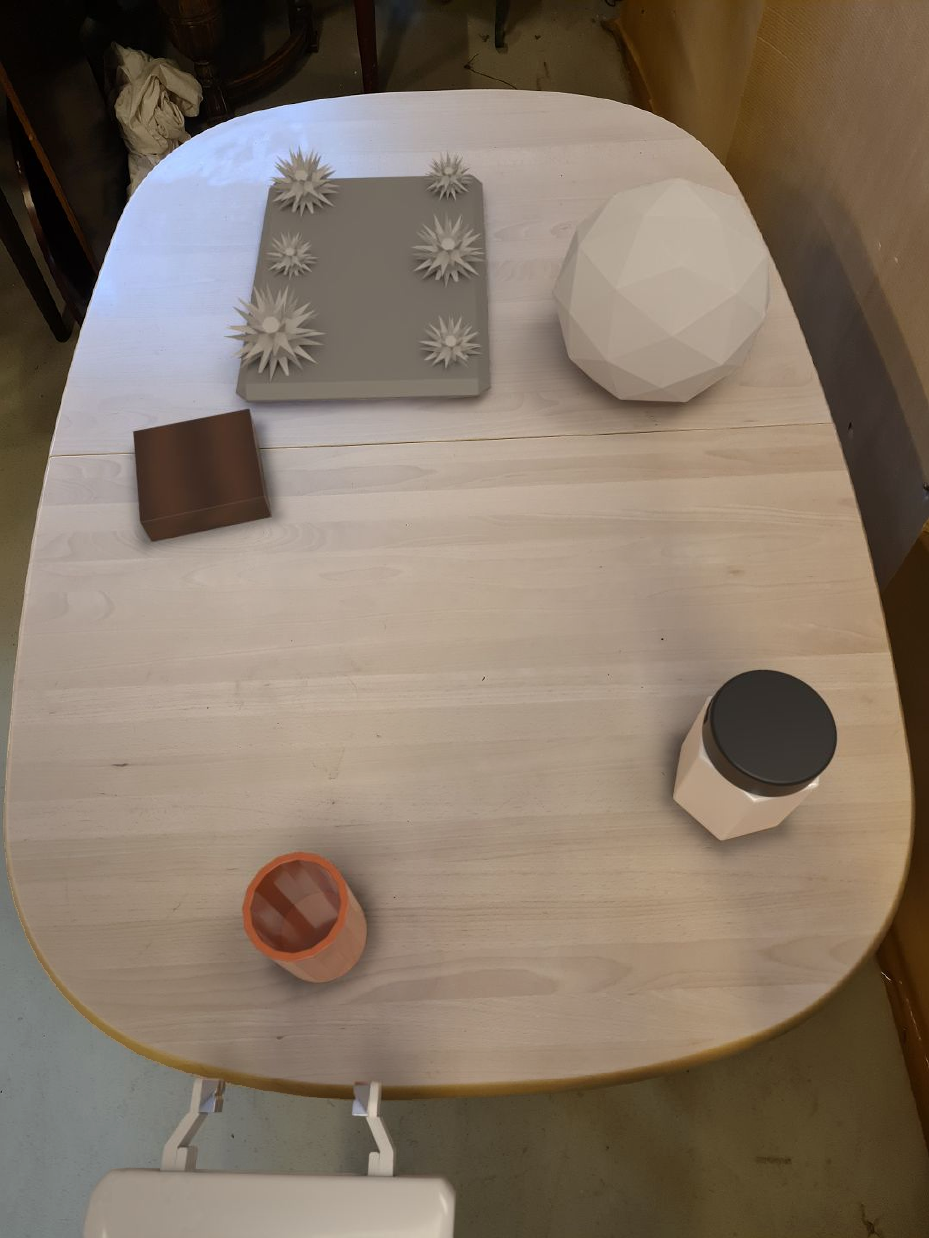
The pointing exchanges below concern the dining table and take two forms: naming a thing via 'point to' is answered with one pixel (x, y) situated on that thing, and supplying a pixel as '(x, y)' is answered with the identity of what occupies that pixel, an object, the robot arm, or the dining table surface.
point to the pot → (305, 917)
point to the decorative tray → (367, 288)
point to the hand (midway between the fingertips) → (289, 1079)
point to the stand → (199, 475)
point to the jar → (754, 753)
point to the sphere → (663, 290)
